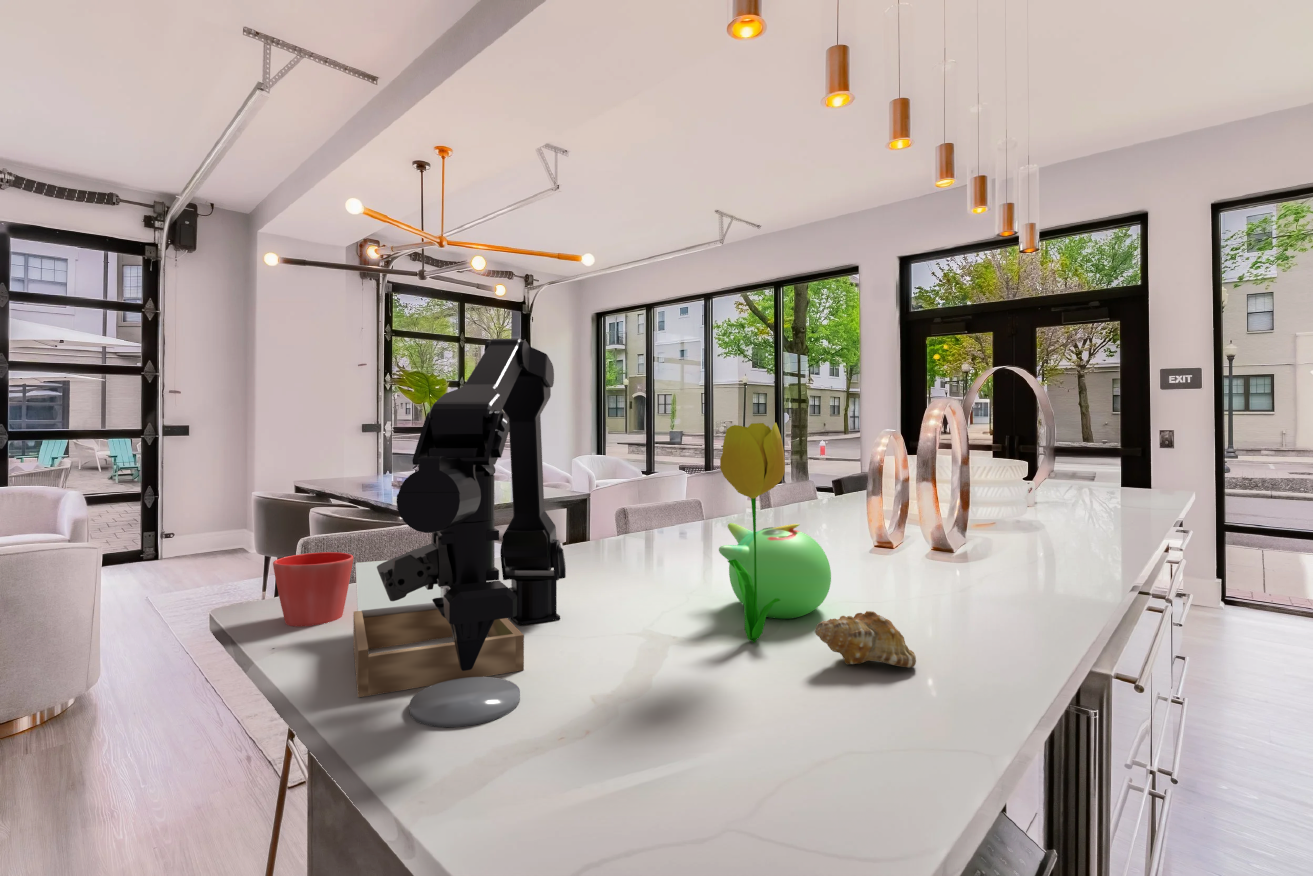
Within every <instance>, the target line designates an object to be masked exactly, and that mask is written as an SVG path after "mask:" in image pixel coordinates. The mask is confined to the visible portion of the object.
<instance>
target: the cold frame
mask: <svg viewBox="0 0 1313 876" xmlns="http://www.w3.org/2000/svg"><path fill="white" fill-rule="evenodd" d="M352 629H353V631H352V632H353V634H352V635H353V640H352V641H353V659H354V660H353V661H354V670H355V680H356V690H357V698H364V697H369V696H374V695H376V696H377V695H381V694H387V693H394V692H399V691H400V692H401V691H406V690H412V689H418V688H419V689H420V688H423V687H429V686H432V685H435V684H437V683H441V682H444V681H449V680H453V679H459V678H468V677H491V676H497V675H502V674H508V673H515V672H521V671H525V640H524V639H525V635H524V634H523V632H522V631H520V630H519V628H518V627H516V626H515V624H513V623H512V622H511V620H510V619H509V618H504V619H496V620H494V622H493V624H492V626H491V628H490V630H489V633H488V635H487V637H486V639H485V641H484V643H483V646H482V648H481V650H480V652H479V655H478V657H477V659H476V661H475V664H474V666H473V668H472V669H471V670H466V671H462V670H461V668H460V665H459V661H458V656H457V652H456V648H455V643H454V641H452V642H445V643H439V644H431V645H430V644H429V645H423V646H418V647H408V648H402V649H401V648H400V649H395V650H394V649H393V650H389V651H381V652H373V653H369V650H375V649H381V648H387V647H395V646H401V645H408V644H414V643H420V642H426V641H427V642H428V641H433V640H439V639H445V638H451V637H452V638H453V634H452V630H451V626H450V624H449V622H448V621H447V619H446V618H444V617H443V616H442V615H441V613H440V612H439V610H438V609H436V610H427V611H418V612H409V613H400V614H392V615H383V616H374V617H365V618H363V614H362V611H357V610H356V611H353V628H352Z"/></svg>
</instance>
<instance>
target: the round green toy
mask: <svg viewBox="0 0 1313 876" xmlns="http://www.w3.org/2000/svg"><path fill="white" fill-rule="evenodd" d="M800 525H801V524H800V523H792V524H786V525H782V526H781V525H780V526H777V527H776V526H774V527H773V526H771V527H765V528H762V529H760V530H756V570H757V605H758V609H759V612H760V613H761V611H762V609H763V608H764V606H766V605H767V604H768V603H770V602H771V601H772V600H774V599H775V598H776V599H777V598H778V599H780V601H778V602H775V603H774V604H773V606H772V607H771V608H770V610H769V612H768V614H767V617H766V618H769V619H777V620H778V619H779V620H780V619H781V620H784V619H785V620H788V619H796V618H800V617H803V616H805V615H808V614H810V613H811V612H813V611H815V610H816V609H817V608H819V607H820V606H821V605H822V603H824V601H825V599H826V598H827V596H828V594H829V592H830V588H831V583H832V572H831V565H830V562H829V561H830V560H829V559H828V557H827V554H826V552H825V551H824V549H823V547H822V546H821V544H819V542H817V541H816V539H814V538H813V537H812V536H810V535H808V534H806V533H805V532H802V531H800V530H797V529H796V528H797V527H799V526H800ZM727 528H728V530H729V532H730V534H731V535H732V536H733V537H734V539H735V540H736V542H737V544H735V545H734V544H723V545H720V546H719V547H718V552H719V554H721V556H723V557H724V559H726V560H727V561H729V560H735V559H736V560H737V561H738V562H739V563H740V564H741V565H742V566H743V567H744V569H745V570H746V571H747V572H748V574H749V575H750V576H751V579H752V582H753V585H754V534H753V530H750V529H748V528H746V527H744V526H742V525H739V524H737V523H734V522H729V523H727ZM728 569H729V570H728V575H729V582H730V585H731V588H732V591H733V593H734V595H735V596H736V598H737V599H738V601H739V602H740V604H742V605H743V606H744V600H743V596H742V592H741V589H740V586H739V582H738V576H737V573H736V570H735V568H734V567H733V566H732V565H731V564H730V563H728Z"/></svg>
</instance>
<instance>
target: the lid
mask: <svg viewBox="0 0 1313 876" xmlns="http://www.w3.org/2000/svg"><path fill="white" fill-rule="evenodd" d="M388 560H389V559H388ZM388 560H386V559H385V560H374V561H363V562H355V583H356V603H357V604H356V606H357V609H356V611H362V614H363V618H365V617H374V616H383V615H392V614H400V613H409V612H418V611H427V610H436V609H438V608H437V607H436V606H435V604H434V602H433V601H432V599H434V598H440V597H441V587H439V586H438V584H434V586H433V589H431V590H427V589H426V587H425V586H424V587H422V588H419V589H417V590H415V591H412V592H410V593H408V594H407V595H406V597H404V598H402V599H399V600H396V601H390V600H389V597H388V595H387V592H386V590H385V587H384V585H383V582H382V580H381V577H380V575H379V573H378V570H377V566H378V565H380V564H381V563H383V562H386V561H388Z"/></svg>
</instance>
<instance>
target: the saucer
mask: <svg viewBox="0 0 1313 876" xmlns="http://www.w3.org/2000/svg"><path fill="white" fill-rule="evenodd" d="M520 702H521V690H520V687H519V686H518V685H517V684H515V683H514V682H512V681H511V680H507V679H503V678H501V677H500V678H499V677H494V676H493V677H491V676H485V677H468V678H459V679H453V680H449V681H444V682H441V683H437V684H435V685H431V686H426V688H423V689H421V690H420V691H418V692H416V693H415V694H414V695H413V696H412V698H411V699H409V715H410V717H411V718H412V720H414V721H416V722H417V723H420V724H423V725H425V726H430V727H438V728H463V727H469V726H475V725H480V724H485V723H488V722H489V723H490V722H491V721H494V720H497V719H499V718H502V717H505V716H506V715H508V714H510V713H511V712H513V711H514V710H515V709H517V707H518V706H519V704H520Z"/></svg>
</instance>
